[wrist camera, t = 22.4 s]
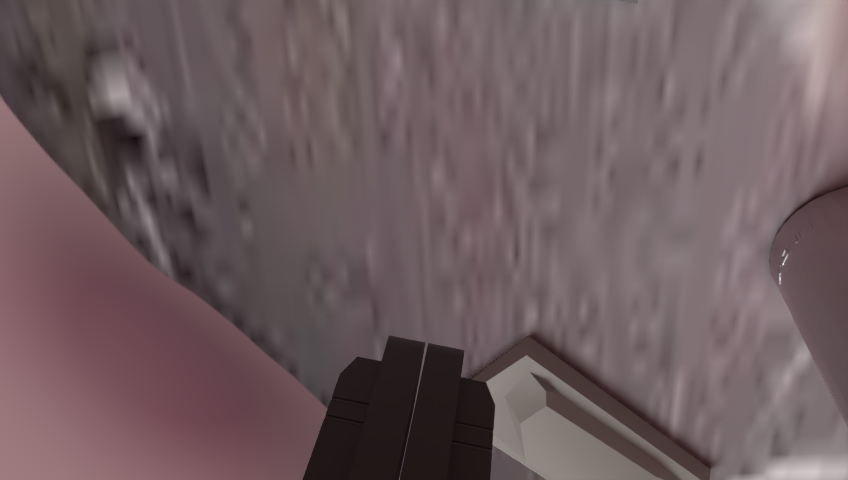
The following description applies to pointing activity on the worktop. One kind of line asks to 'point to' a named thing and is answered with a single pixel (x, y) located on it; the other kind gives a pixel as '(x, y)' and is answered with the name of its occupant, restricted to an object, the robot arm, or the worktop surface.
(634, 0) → the mat
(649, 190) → the worktop surface
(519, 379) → the soap mold
